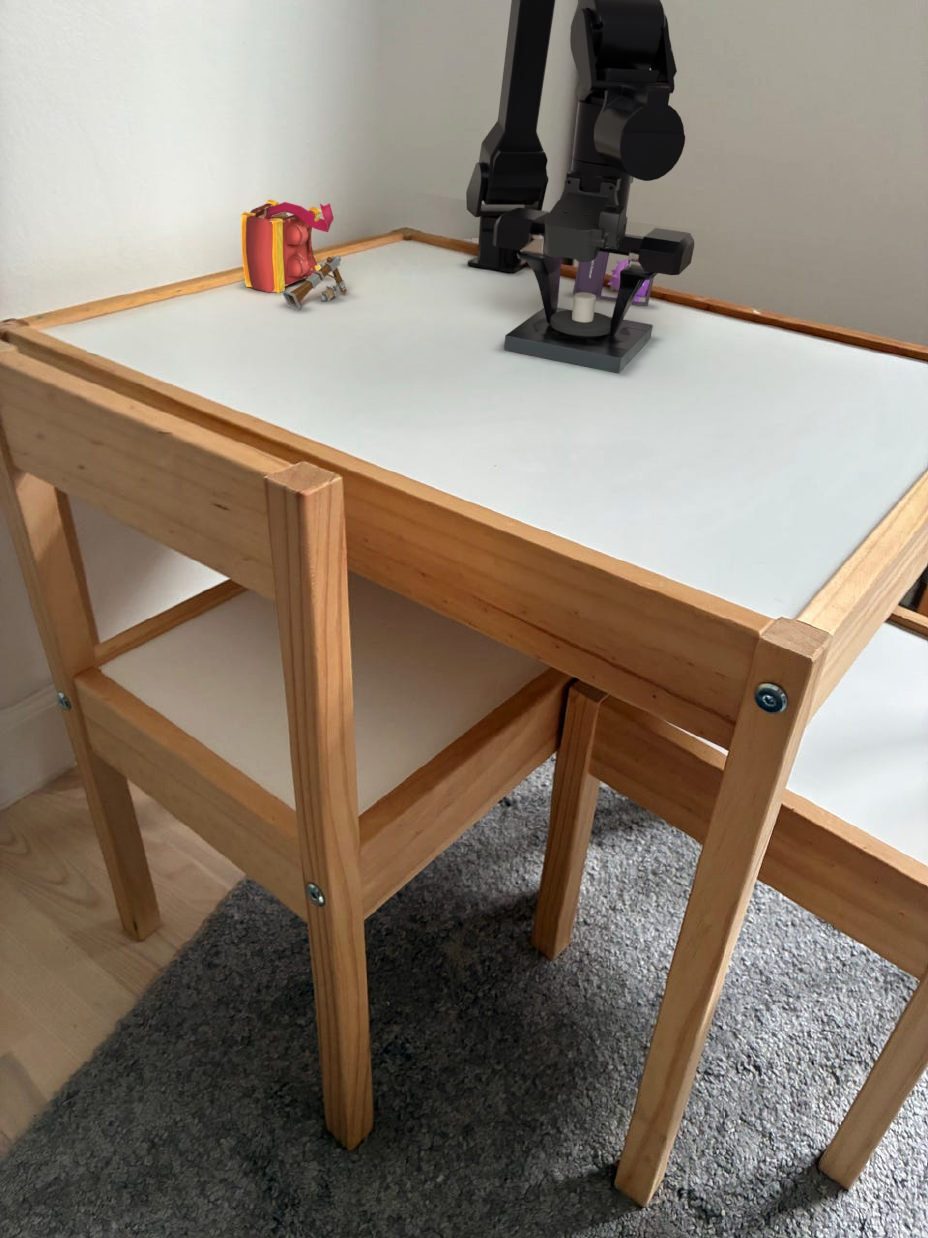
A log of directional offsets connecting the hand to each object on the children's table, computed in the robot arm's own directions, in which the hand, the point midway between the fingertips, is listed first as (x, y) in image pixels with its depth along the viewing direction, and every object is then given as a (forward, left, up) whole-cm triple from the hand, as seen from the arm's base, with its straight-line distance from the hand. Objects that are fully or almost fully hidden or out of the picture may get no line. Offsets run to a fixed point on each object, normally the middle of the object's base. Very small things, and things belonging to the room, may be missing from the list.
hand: (581, 328), depth 92 cm
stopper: (0, 0, -1) cm, 1 cm away
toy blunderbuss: (+3, -30, -2) cm, 30 cm away
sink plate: (0, 0, -2) cm, 2 cm away
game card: (-19, -2, -2) cm, 19 cm away
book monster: (-1, -35, -2) cm, 35 cm away
